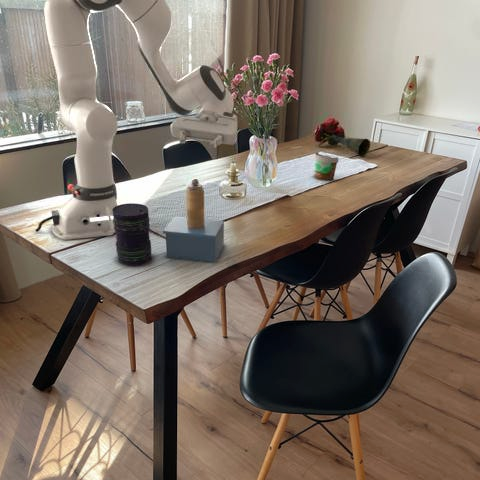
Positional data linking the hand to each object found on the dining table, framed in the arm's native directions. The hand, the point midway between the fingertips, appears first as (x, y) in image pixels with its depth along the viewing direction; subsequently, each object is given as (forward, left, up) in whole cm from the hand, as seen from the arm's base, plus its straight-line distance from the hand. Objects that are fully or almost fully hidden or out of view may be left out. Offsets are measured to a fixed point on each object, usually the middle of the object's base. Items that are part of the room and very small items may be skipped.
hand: (197, 143), depth 142 cm
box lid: (-7, -11, -21) cm, 25 cm away
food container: (+78, +34, -29) cm, 89 cm away
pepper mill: (-6, -11, -21) cm, 24 cm away
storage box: (-6, -11, -29) cm, 31 cm away
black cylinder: (-24, -8, -29) cm, 39 cm away
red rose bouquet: (+123, +73, -29) cm, 146 cm away
